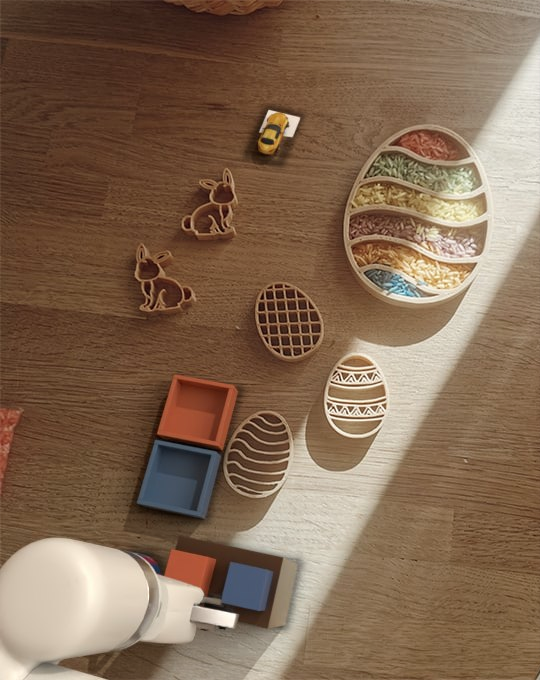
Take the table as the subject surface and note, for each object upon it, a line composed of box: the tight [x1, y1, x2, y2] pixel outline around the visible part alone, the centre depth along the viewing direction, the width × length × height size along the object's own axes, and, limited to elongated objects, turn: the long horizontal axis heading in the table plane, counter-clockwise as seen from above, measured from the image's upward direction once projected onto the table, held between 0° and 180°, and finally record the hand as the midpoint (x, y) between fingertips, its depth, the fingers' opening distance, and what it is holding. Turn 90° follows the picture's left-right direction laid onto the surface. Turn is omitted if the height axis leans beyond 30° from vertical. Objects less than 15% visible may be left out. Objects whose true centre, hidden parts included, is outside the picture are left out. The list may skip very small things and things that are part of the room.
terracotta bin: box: [156, 374, 239, 452], centre depth 108 cm, size 9×9×4 cm
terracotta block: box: [163, 549, 216, 596], centre depth 84 cm, size 4×4×4 cm
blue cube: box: [222, 562, 273, 611], centre depth 83 cm, size 4×4×4 cm
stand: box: [174, 535, 299, 630], centre depth 93 cm, size 8×13×16 cm, turn 78°
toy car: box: [256, 109, 301, 156], centre depth 124 cm, size 4×8×2 cm, turn 162°
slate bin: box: [136, 439, 222, 520], centre depth 104 cm, size 9×9×4 cm
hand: (168, 601), depth 73 cm, fingers open, 9 cm apart
